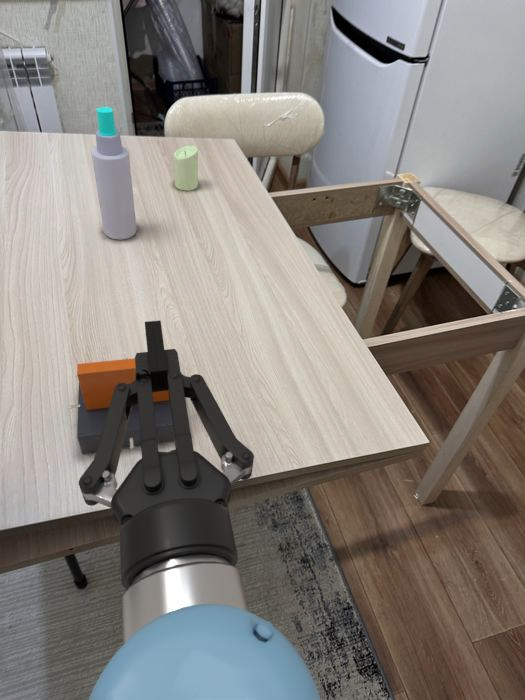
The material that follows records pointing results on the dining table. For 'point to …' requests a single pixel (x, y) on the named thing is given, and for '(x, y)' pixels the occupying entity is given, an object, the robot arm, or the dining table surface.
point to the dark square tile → (95, 419)
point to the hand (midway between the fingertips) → (153, 331)
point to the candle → (186, 168)
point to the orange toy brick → (108, 381)
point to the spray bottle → (113, 179)
